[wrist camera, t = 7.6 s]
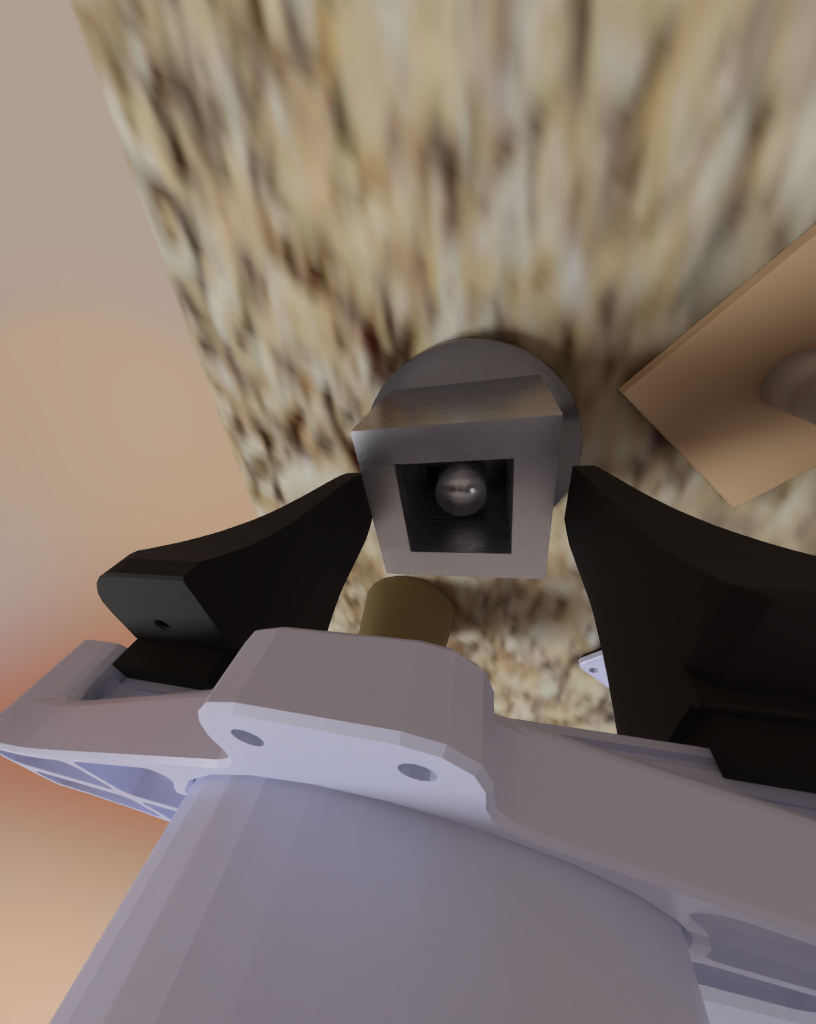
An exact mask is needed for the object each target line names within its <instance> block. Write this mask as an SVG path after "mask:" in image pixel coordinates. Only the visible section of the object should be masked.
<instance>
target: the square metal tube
mask: <svg viewBox="0 0 816 1024" xmlns="http://www.w3.org/2000/svg"><path fill="white" fill-rule="evenodd" d="M562 420H563V413H562V412H561V410H560V408H559V406H558V405H557V403H556V401H555V400H554V398H553V396H552V394H551V393H550V391H549V389H548V387H547V386H546V384H545V382H544V380H543V379H542V377H541V375H540V374H538V375H529V376H520V377H511V378H502V379H493V380H484V381H475V382H466V383H457V384H448V385H439V386H430V387H421V388H412V389H403V390H394V391H389V392H388V393H387V394H386V395H385V396H384V397H383V398H382V399H381V401H380V402H379V403H378V404H377V405H376V406H375V407H374V408H373V409H372V410H371V411H370V412H369V413H368V414H367V415H366V416H365V417H364V418H363V419H362V420H361V421H360V422H359V423H358V424H357V425H356V426H355V427H354V428H353V429H352V431H351V435H352V439H353V443H354V447H355V451H356V455H357V459H358V463H359V467H360V471H361V474H362V478H363V482H364V486H365V490H366V494H367V498H368V502H369V506H370V510H371V514H372V517H373V521H374V525H375V529H376V533H377V537H378V541H379V545H380V549H381V553H382V556H383V560H384V564H385V568H386V572H387V573H392V574H417V575H443V576H468V577H494V578H519V579H545V575H546V566H547V557H548V548H549V539H550V529H551V520H552V511H553V502H554V493H555V484H556V475H557V465H558V456H559V447H560V438H561V429H562ZM493 459H506V486H487V493H486V501H485V503H484V505H483V506H482V507H481V508H480V509H479V510H478V511H477V512H475V513H473V514H470V515H466V516H458V515H453V514H450V513H448V512H446V511H445V510H443V509H442V508H441V507H440V506H439V504H438V503H437V501H436V497H435V489H436V488H430V486H429V479H428V471H427V464H426V463H434V462H454V461H473V460H493Z"/></svg>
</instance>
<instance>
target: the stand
mask: <svg viewBox="0 0 816 1024" xmlns="http://www.w3.org/2000/svg"><path fill="white" fill-rule="evenodd" d="M618 390H619V391H620V392H621V393H622V394H623V395H624V396H625V397H626V398H627V399H628V400H629V401H630V402H631V403H632V404H633V405H634V407H635V408H636V409H637V410H638V411H639V412H640V413H641V414H642V415H643V416H644V417H645V418H646V419H647V420H648V421H649V422H650V423H651V424H652V425H653V426H654V427H655V428H656V429H657V430H658V431H659V432H660V433H661V434H662V435H663V436H664V437H665V438H666V440H667V441H668V442H669V443H670V444H671V445H672V446H673V447H674V448H675V449H676V450H677V451H678V452H679V453H680V454H681V455H682V456H683V457H684V458H685V459H686V460H687V461H688V462H689V463H690V464H691V465H692V466H693V467H694V468H695V469H696V470H697V471H698V473H699V474H700V475H701V476H702V477H703V478H704V479H705V480H706V481H707V482H708V483H709V484H710V485H711V486H712V487H713V488H714V489H715V490H716V491H717V492H718V493H719V494H720V495H721V496H722V497H723V498H724V499H725V500H726V501H727V502H728V503H729V504H730V505H731V506H732V507H733V508H735V507H737V506H739V505H741V504H743V503H745V502H747V501H749V500H751V499H753V498H755V497H757V496H759V495H761V494H763V493H764V492H766V491H768V490H770V489H772V488H774V487H776V486H778V485H780V484H782V483H784V482H786V481H788V480H790V479H792V478H794V477H796V476H798V475H799V474H801V473H803V472H805V471H807V470H809V469H811V468H813V467H815V466H816V223H815V224H814V225H813V226H812V227H811V228H809V229H808V230H807V231H806V232H805V233H803V234H802V235H801V236H800V237H799V238H798V239H796V240H795V241H794V242H793V243H792V244H790V245H789V246H788V247H787V248H786V249H784V250H783V251H782V252H781V253H780V254H778V255H777V256H776V257H775V258H774V259H772V260H771V261H770V262H769V263H768V264H767V265H765V266H764V267H763V268H762V269H761V270H759V271H758V272H757V273H756V274H755V275H753V276H752V277H751V278H750V279H749V280H747V281H746V282H745V283H744V284H743V285H741V286H740V287H739V288H738V289H737V290H736V291H734V292H733V293H732V294H731V295H730V296H728V297H727V298H726V299H725V300H724V301H722V302H721V303H720V304H719V305H718V306H716V307H715V308H714V309H713V310H712V311H710V312H709V313H708V314H707V315H706V316H705V317H703V318H702V319H701V320H700V321H699V322H697V323H696V324H695V325H694V326H693V327H691V328H690V329H689V330H688V331H687V332H685V333H684V334H683V335H682V336H681V337H679V338H678V339H677V340H676V341H675V342H674V343H672V344H671V345H670V346H669V347H668V348H666V349H665V350H664V351H663V352H662V353H660V354H659V355H658V356H657V357H656V358H654V359H653V360H652V361H651V362H650V363H649V364H647V365H646V366H645V367H644V368H643V369H641V370H640V371H639V372H638V373H637V374H635V375H634V376H633V377H632V378H631V379H629V380H628V381H627V382H626V383H625V384H623V385H622V386H621V387H620V388H619V389H618Z"/></svg>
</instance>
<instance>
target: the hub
mask: <svg viewBox="0 0 816 1024" xmlns="http://www.w3.org/2000/svg"><path fill="white" fill-rule="evenodd" d="M538 374H540V375H541V377H542V379H543V380H544V382H545V384H546V386H547V387H548V389H549V391H550V393H551V394H552V396H553V398H554V400H555V401H556V403H557V405H558V406H559V408H560V410H561V412H562V413H563V420H562V429H561V438H560V447H559V456H558V465H557V475H556V484H555V493H554V502H553V507H554V506H555V505H556V504H557V503H558V502H559V500H560V499H561V498H562V497H563V495H564V494H565V493H566V491H567V489H568V488H569V486H570V479H571V473H572V466H578V465H579V461H580V457H581V450H582V427H581V422H580V417H579V413H578V410H577V407H576V405H575V403H574V400H573V398H572V396H571V394H570V393H569V391H568V389H567V388H566V386H565V384H564V383H563V382H562V380H561V379H560V378H559V377H558V375H557V374H556V373H555V372H554V371H553V370H552V369H551V367H550V366H549V365H547V364H546V363H545V362H544V361H543V360H542V359H540V358H539V357H538V356H536V355H535V354H533V353H531V352H530V351H528V350H526V349H525V348H522V347H520V346H518V345H515V344H513V343H510V342H506V341H502V340H498V339H494V338H482V337H472V338H460V339H455V340H450V341H446V342H443V343H440V344H438V345H435V346H432V347H430V348H428V349H426V350H424V351H423V352H421V353H419V354H417V355H416V356H415V357H413V358H412V359H410V360H409V361H408V362H406V363H405V364H404V365H403V366H402V367H401V368H400V369H399V370H398V371H397V372H396V373H395V374H394V375H392V376H391V377H390V379H389V380H388V381H387V382H386V384H385V385H384V386H383V388H382V389H381V391H380V392H379V394H378V396H377V397H376V399H375V401H374V403H373V406H372V408H371V410H372V409H373V408H374V407H375V406H376V405H377V404H378V403H379V402H380V401H381V399H382V398H383V397H384V396H385V395H386V394H387V393H388V392H389V391H394V390H403V389H412V388H421V387H430V386H439V385H448V384H457V383H466V382H475V381H484V380H493V379H502V378H511V377H520V376H529V375H538ZM426 464H427V471H428V479H429V486H430V488H436V489H435V497H436V501H437V503H438V504H439V506H440V507H441V508H442V509H443V510H445V511H446V512H448V513H450V514H453V515H458V516H466V515H470V514H473V513H475V512H477V511H478V510H479V509H480V508H481V507H482V506H483V505H484V503H485V501H486V493H487V486H506V459H493V460H473V461H454V462H434V463H426Z"/></svg>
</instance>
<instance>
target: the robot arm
mask: <svg viewBox="0 0 816 1024" xmlns="http://www.w3.org/2000/svg"><path fill="white" fill-rule="evenodd" d="M564 519H565V525H566V531H567V536H568V541H569V545H570V548H571V551H572V554H573V556H574V559H575V562H576V565H577V568H578V570H579V573H580V576H581V578H582V581H583V584H584V587H585V589H586V592H587V595H588V598H589V601H590V604H591V607H592V610H593V614H594V618H595V623H596V627H597V631H598V636H599V640H600V644H601V649H602V650H600V651H597V652H595V653H592V654H589V655H587V656H584V657H582V658H580V659H579V660H578V661H579V666H580V668H581V669H583V670H584V671H586V672H587V673H588V674H590V675H591V676H592V677H594V678H595V679H597V680H598V681H599V682H601V683H602V684H604V685H605V686H606V687H608V688H609V689H610V694H611V700H612V705H613V710H614V716H615V722H616V729H617V734H611V733H604V732H598V731H591V730H585V729H578V728H571V727H565V726H558V725H551V724H545V723H538V722H532V721H525V720H518V719H512V718H507V717H504V716H501V715H498V714H495V713H494V691H493V689H492V687H491V685H490V682H489V680H488V678H487V676H486V674H485V672H484V670H483V669H481V668H480V667H479V666H478V665H477V664H475V663H474V662H472V661H471V660H469V659H468V658H466V657H465V656H463V655H461V654H460V653H458V652H457V651H455V650H454V649H451V648H447V647H443V646H440V645H436V644H432V643H428V642H424V641H420V640H410V639H400V638H390V637H380V636H370V635H361V634H351V633H341V632H331V631H328V628H329V624H330V621H331V618H332V615H333V612H334V609H335V607H336V604H337V601H338V598H339V595H340V593H341V591H342V588H343V586H344V584H345V582H346V580H347V578H348V576H349V574H350V572H351V570H352V567H353V565H354V563H355V561H356V559H357V557H358V555H359V553H360V551H361V549H362V547H363V545H364V543H365V540H366V538H367V535H368V532H369V528H370V525H371V521H372V514H371V510H370V506H369V502H368V498H367V494H366V490H365V486H364V482H363V478H362V474H361V473H346V474H343V475H341V476H339V477H337V478H335V479H333V480H331V481H329V482H327V483H326V484H324V485H322V486H320V487H319V488H317V489H315V490H313V491H312V492H310V493H308V494H306V495H304V496H303V497H301V498H299V499H297V500H295V501H293V502H291V503H289V504H287V505H285V506H283V507H281V508H279V509H277V510H275V511H273V512H271V513H269V514H266V515H264V516H261V517H259V518H257V519H254V520H252V521H249V522H246V523H244V524H241V525H238V526H235V527H232V528H229V529H226V530H223V531H220V532H217V533H214V534H210V535H207V536H203V537H199V538H195V539H191V540H188V541H183V542H179V543H174V544H170V545H165V546H160V547H156V548H150V549H145V550H139V551H136V552H134V553H132V554H129V555H128V556H127V557H125V558H124V559H123V560H121V561H120V562H119V563H117V564H116V565H115V566H113V567H112V568H111V569H109V570H108V571H106V572H105V573H104V574H102V575H101V576H100V577H99V579H98V581H97V590H98V594H99V596H100V598H101V600H102V601H103V603H104V604H105V605H106V606H107V607H108V608H109V610H110V611H111V612H112V613H113V614H114V615H115V616H116V617H117V618H118V619H119V620H120V621H121V622H122V623H123V624H124V625H125V626H126V627H127V628H128V630H129V631H130V632H131V633H132V634H133V635H134V636H135V637H136V638H138V639H137V640H136V641H135V642H134V643H133V644H132V645H131V646H130V647H129V648H126V647H124V646H122V645H120V644H117V643H112V642H105V641H97V640H85V641H83V642H82V643H81V644H80V645H79V646H78V647H77V648H76V649H74V650H73V651H72V652H71V653H70V654H69V655H67V656H66V657H65V658H64V659H63V660H62V661H61V662H59V663H58V664H57V665H56V666H55V667H54V668H52V669H51V670H50V671H49V672H48V673H47V674H46V675H45V676H44V677H42V678H41V679H40V680H39V681H38V682H36V683H35V684H34V685H33V686H32V687H31V688H30V689H28V690H27V691H26V692H25V693H24V694H23V695H22V696H20V697H19V698H18V699H17V700H16V701H15V702H13V703H12V704H11V705H10V706H9V707H8V708H7V709H6V710H4V711H3V712H2V713H1V714H0V755H1V756H3V757H5V758H7V759H9V760H11V761H13V762H15V763H17V764H19V765H21V766H23V767H25V768H27V769H28V770H30V771H33V772H34V773H36V774H38V775H40V776H42V777H44V778H46V779H48V780H50V781H52V782H54V783H56V784H59V785H62V786H65V787H69V788H72V789H75V790H78V791H81V792H85V793H88V794H91V795H94V796H97V797H100V798H103V799H106V800H109V801H112V802H115V803H118V804H121V805H124V806H127V807H130V808H132V809H135V810H138V811H141V812H144V813H147V814H149V815H152V816H155V817H158V818H161V819H163V820H167V821H169V822H170V823H169V824H168V826H167V828H166V829H165V831H164V833H163V834H162V836H161V838H160V839H159V841H158V843H157V844H156V846H155V848H154V849H153V851H152V853H151V854H150V856H149V858H148V859H147V861H146V863H145V864H144V866H143V868H142V869H141V871H140V873H139V874H138V876H137V878H136V879H135V881H134V883H133V884H132V886H131V888H130V889H129V891H128V893H127V895H126V896H125V898H124V899H123V901H122V903H121V904H120V906H119V908H118V909H117V911H116V913H115V914H114V916H113V918H112V919H111V921H110V923H109V924H108V926H107V928H106V929H105V931H104V933H103V934H102V936H101V938H100V939H99V941H98V943H97V944H96V946H95V948H94V950H93V951H92V953H91V955H90V956H89V958H88V960H87V961H86V963H85V965H84V966H83V968H82V969H81V971H80V973H79V974H78V976H77V978H76V979H75V981H74V983H73V985H72V986H71V988H70V990H69V991H68V993H67V995H66V996H65V998H64V1000H63V1001H62V1003H61V1005H60V1006H59V1008H58V1010H57V1011H56V1013H55V1015H54V1017H53V1018H52V1020H51V1021H50V1023H49V1024H816V556H813V555H810V554H806V553H802V552H798V551H794V550H790V549H787V548H783V547H780V546H776V545H773V544H769V543H766V542H763V541H760V540H757V539H753V538H750V537H747V536H744V535H741V534H738V533H735V532H732V531H729V530H726V529H723V528H721V527H718V526H715V525H712V524H710V523H707V522H705V521H702V520H700V519H698V518H695V517H693V516H690V515H688V514H685V513H683V512H681V511H679V510H676V509H674V508H672V507H670V506H668V505H666V504H664V503H662V502H660V501H658V500H656V499H654V498H652V497H650V496H648V495H646V494H644V493H642V492H641V491H639V490H637V489H635V488H634V487H632V486H630V485H628V484H627V483H625V482H623V481H621V480H620V479H618V478H616V477H615V476H613V475H611V474H609V473H608V472H606V471H604V470H602V469H600V468H598V467H596V466H572V473H571V479H570V486H569V492H568V499H567V505H566V512H565V518H564Z"/></svg>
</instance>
